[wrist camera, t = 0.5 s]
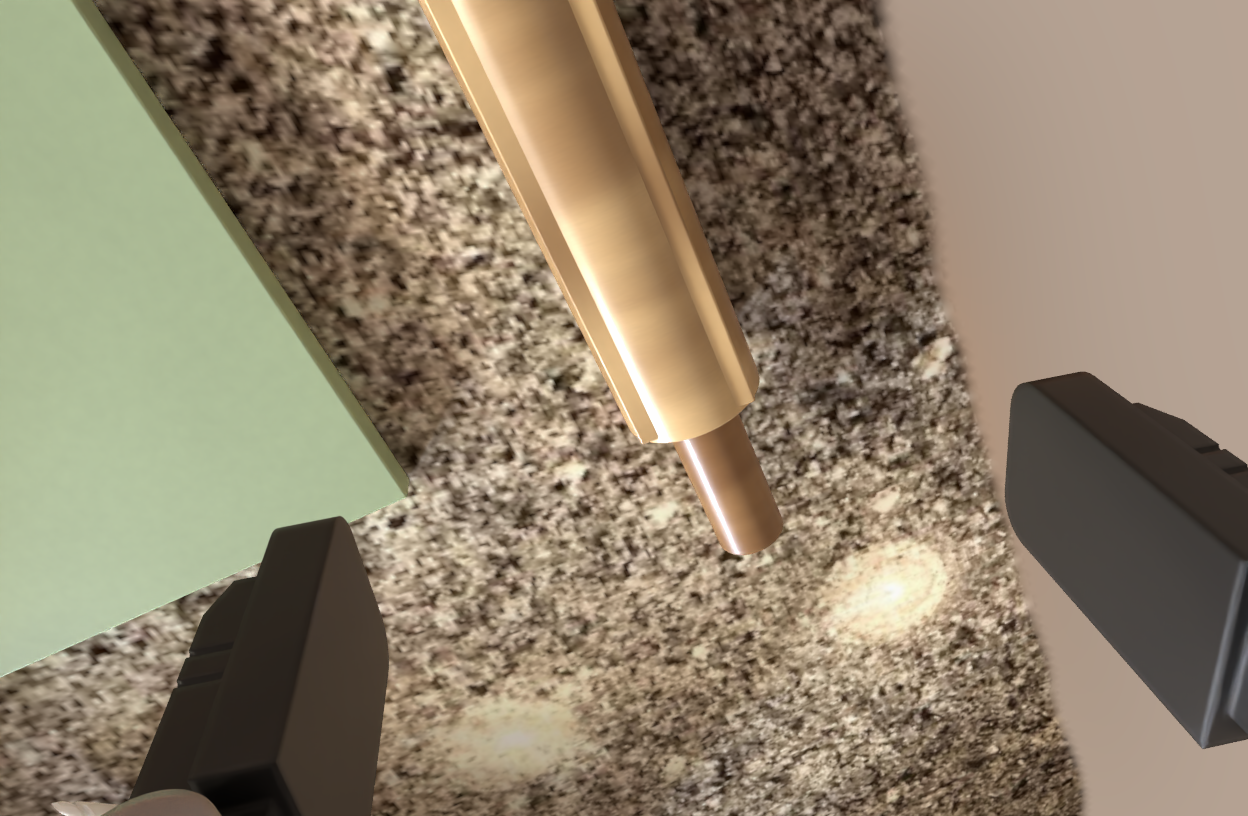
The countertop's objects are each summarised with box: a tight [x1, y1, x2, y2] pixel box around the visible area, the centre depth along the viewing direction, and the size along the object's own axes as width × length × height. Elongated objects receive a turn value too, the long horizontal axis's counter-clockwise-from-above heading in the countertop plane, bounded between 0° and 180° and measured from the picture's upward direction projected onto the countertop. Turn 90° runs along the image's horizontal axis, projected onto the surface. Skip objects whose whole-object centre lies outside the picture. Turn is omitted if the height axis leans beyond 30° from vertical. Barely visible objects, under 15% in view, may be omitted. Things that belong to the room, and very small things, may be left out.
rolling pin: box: [418, 0, 783, 555], centre depth 26 cm, size 28×5×5 cm, turn 23°
